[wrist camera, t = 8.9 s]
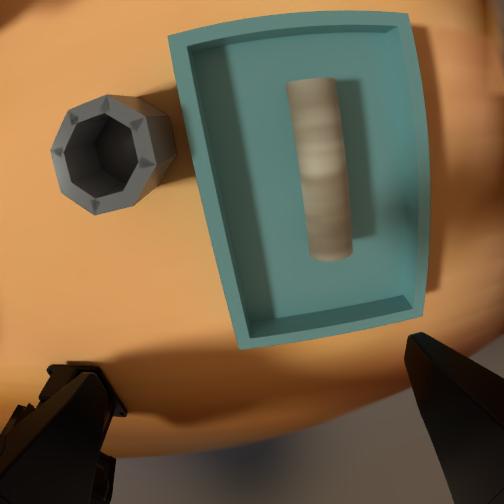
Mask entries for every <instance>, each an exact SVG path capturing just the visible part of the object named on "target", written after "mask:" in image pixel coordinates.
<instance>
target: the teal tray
mask: <svg viewBox="0 0 504 504" xmlns="http://www.w3.org/2000/svg"><path fill="white" fill-rule="evenodd" d="M168 41H169V47H170V52H171V58H172V63H173V68H174V73H175V79H176V84H177V89H178V94H179V99H180V104H181V109H182V114H183V119H184V123H185V128H186V133H187V138H188V142H189V147H190V151H191V156H192V161H193V165H194V170H195V174H196V179H197V183H198V187H199V192H200V196H201V200H202V205H203V209H204V213H205V218H206V222H207V226H208V230H209V234H210V238H211V242H212V247H213V251H214V255H215V259H216V263H217V267H218V271H219V275H220V279H221V283H222V286H223V290H224V294H225V298H226V302H227V306H228V310H229V313H230V317H231V321H232V325H233V328H234V332H235V336H236V339H237V343H238V347H239V350H243V349H251V348H258V347H266V346H273V345H280V344H287V343H293V342H299V341H306V340H312V339H317V338H323V337H329V336H334V335H340V334H345V333H350V332H355V331H360V330H365V329H369V328H374V327H379V326H383V325H388V324H392V323H397V322H401V321H405V320H409V319H413V318H417V317H421V316H423V309H424V301H425V292H426V283H427V272H428V259H429V243H430V213H431V187H430V158H429V142H428V129H427V119H426V109H425V101H424V94H423V86H422V80H421V74H420V68H419V62H418V57H417V52H416V47H415V42H414V37H413V33H412V28H411V24H410V20H409V16H408V14H407V13H396V12H380V11H315V12H299V13H287V14H278V15H269V16H261V17H254V18H248V19H241V20H236V21H230V22H225V23H220V24H215V25H210V26H206V27H201V28H197V29H193V30H189V31H185V32H181V33H177V34H173V35H170V36H168ZM312 78H335V83H336V89H337V95H338V102H339V108H340V115H341V122H342V130H343V137H344V146H345V154H346V163H347V173H348V184H349V195H350V208H351V223H352V241H353V253H352V254H351V255H350V256H349V257H347V258H345V259H343V260H339V261H334V262H323V261H318V260H315V259H313V258H312V257H311V256H310V254H309V245H308V236H307V228H306V219H305V211H304V203H303V196H302V188H301V181H300V173H299V166H298V159H297V153H296V146H295V139H294V133H293V127H292V121H291V115H290V109H289V103H288V97H287V91H286V86H285V83H288V82H292V81H297V80H304V79H312Z"/></svg>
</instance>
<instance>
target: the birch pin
mask: <svg viewBox="0 0 504 504" xmlns="http://www.w3.org/2000/svg"><path fill="white" fill-rule="evenodd" d="M285 86H286V91H287V97H288V103H289V109H290V115H291V121H292V127H293V133H294V139H295V146H296V153H297V159H298V166H299V173H300V181H301V188H302V196H303V203H304V211H305V219H306V228H307V236H308V245H309V254H310V256H311V257H312V258H313V259H315V260H318V261H323V262H334V261H339V260H343V259H345V258H347V257H349V256H350V255H351V254H352V253H353V241H352V223H351V208H350V195H349V184H348V173H347V163H346V154H345V146H344V137H343V130H342V122H341V115H340V108H339V102H338V95H337V89H336V83H335V78H312V79H304V80H297V81H292V82H288V83H285Z"/></svg>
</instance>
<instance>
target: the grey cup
mask: <svg viewBox="0 0 504 504" xmlns="http://www.w3.org/2000/svg"><path fill="white" fill-rule="evenodd" d="M50 152H51V156H52V160H53V164H54V168H55V172H56V176H57V179H58V183H59V187H60V190H61V192H62V194H64V195H65V196H67V197H68V198H70V199H71V200H72V201H74V202H75V203H77V204H78V205H80V206H81V207H83V208H84V209H86V210H87V211H89V212H90V213H92V214H93V215H99V214H102V213H106V212H110V211H115V210H119V209H123V208H127V207H131V206H134V205H135V204H136V203H138V202H139V201H140V200H141V199H142V198H144V197H145V196H146V195H147V194H149V193H150V192H151V191H152V190H153V189H155V188H156V187H157V186H158V185H159V183H160V181H161V180H162V178H163V176H164V175H165V173H166V171H167V170H168V168H169V166H170V165H171V163H172V161H173V160H174V158H175V156H176V155H177V151H176V146H175V142H174V137H173V132H172V128H171V123H170V118H169V115H167V114H165V113H164V112H162V111H160V110H159V109H157V108H155V107H154V106H152V105H150V104H149V103H147V102H145V101H143V100H142V99H140V98H138V97H131V96H120V95H104V96H102V97H99V98H97V99H94V100H92V101H89V102H87V103H84V104H82V105H79V106H77V107H75V108H72V109H70V110H68V111H67V114H66V116H65V118H64V120H63V122H62V124H61V127H60V129H59V131H58V133H57V136H56V138H55V140H54V143H53V145H52V148H51V150H50Z"/></svg>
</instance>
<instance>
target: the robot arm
mask: <svg viewBox="0 0 504 504" xmlns="http://www.w3.org/2000/svg"><path fill="white" fill-rule="evenodd" d="M404 361H405V366H406V369H407V372H408V375H409V379H410V382H411V385H412V388H413V392H414V395H415V398H416V402H417V405H418V408H419V411H420V414H421V416H422V418H423V421H424V423H425V426H426V428H427V431H428V433H429V435H430V438H431V441H432V443H433V446H434V448H435V451H436V454H437V456H438V459H439V461H440V464H441V467H442V470H443V472H444V475H445V478H446V481H447V484H448V487H449V489H450V492H451V495H452V498H453V501H454V504H504V378H502V377H500V376H499V375H497V374H495V373H493V372H492V371H490V370H488V369H487V368H485V367H483V366H481V365H479V364H478V363H476V362H474V361H473V360H471V359H469V358H467V357H466V356H464V355H462V354H460V353H459V352H457V351H455V350H453V349H452V348H450V347H448V346H446V345H445V344H443V343H441V342H439V341H438V340H436V339H434V338H432V337H431V336H429V335H427V334H425V333H423V332H419V333H415V334H411V335H409V336H408V339H407V344H406V350H405V356H404ZM47 372H48V374H49V375H50V378H49V379H48V381H47V383H46V384H45V386H44V388H43V390H42V391H41V393H40V395H39V400H40V402H39V403H38V405H37V407H36V409H35V408H34V406H33V405H31V404H30V403H29V404H28V405H27V407H25V406H21V405H18V406H17V407H16V409H15V411H14V412H13V414H12V416H11V418H10V419H9V421H8V423H7V424H6V426H5V427H4V429H3V431H2V433H1V434H0V504H110V501H111V498H112V492H113V482H114V473H115V465H116V459H115V458H113V457H112V456H108V455H106V454H104V453H102V452H101V451H100V450H101V447H102V444H103V441H104V439H105V436H106V433H107V430H108V428H109V425H110V422H111V420H112V417H113V416H116V417H126V416H127V413H128V412H127V410H126V408H125V407H124V405H123V404H122V402H121V401H120V399H119V398H118V396H117V395H116V393H115V392H114V390H113V388H112V387H111V385H110V384H109V382H108V380H107V379H106V377H105V375H104V374H103V372H102V371H101V369H100V368H98V367H95V366H49V367H48V368H47Z"/></svg>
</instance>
